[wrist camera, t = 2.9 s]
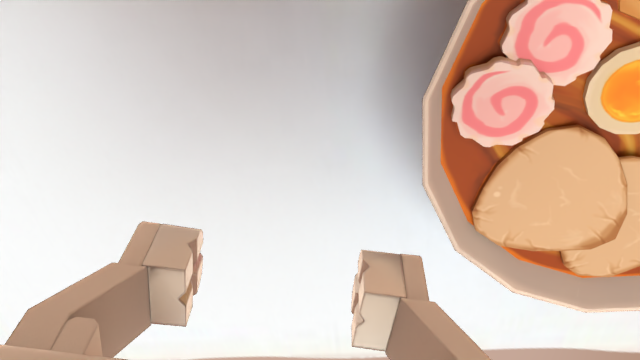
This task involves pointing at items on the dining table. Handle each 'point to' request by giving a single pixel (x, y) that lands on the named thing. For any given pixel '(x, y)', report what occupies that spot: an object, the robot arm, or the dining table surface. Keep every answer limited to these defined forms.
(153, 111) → the dining table surface
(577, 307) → the ramen bowl
